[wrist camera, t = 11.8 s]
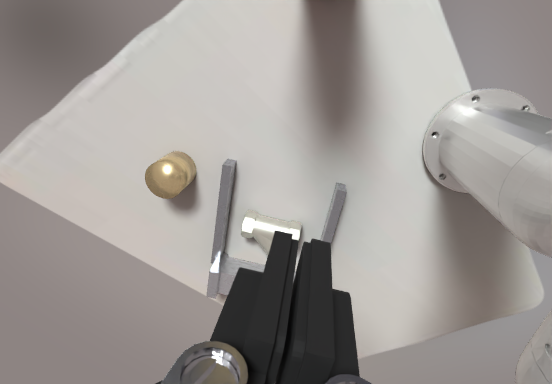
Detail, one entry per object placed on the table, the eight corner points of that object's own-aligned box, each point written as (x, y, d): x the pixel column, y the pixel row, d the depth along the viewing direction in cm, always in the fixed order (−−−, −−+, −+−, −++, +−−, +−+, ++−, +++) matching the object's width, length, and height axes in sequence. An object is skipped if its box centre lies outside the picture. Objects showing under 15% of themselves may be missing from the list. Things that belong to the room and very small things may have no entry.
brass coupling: (197, 155, 45) (183, 167, 40) (195, 187, 47) (181, 202, 42) (163, 148, 45) (145, 158, 40) (162, 180, 47) (144, 194, 42)
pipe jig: (345, 184, 43) (347, 199, 39) (311, 299, 52) (310, 321, 47) (227, 158, 44) (217, 170, 40) (213, 275, 52) (203, 295, 48)
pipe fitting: (292, 254, 50) (302, 219, 46) (289, 271, 46) (300, 234, 43) (242, 242, 50) (249, 206, 47) (236, 258, 47) (242, 220, 43)
